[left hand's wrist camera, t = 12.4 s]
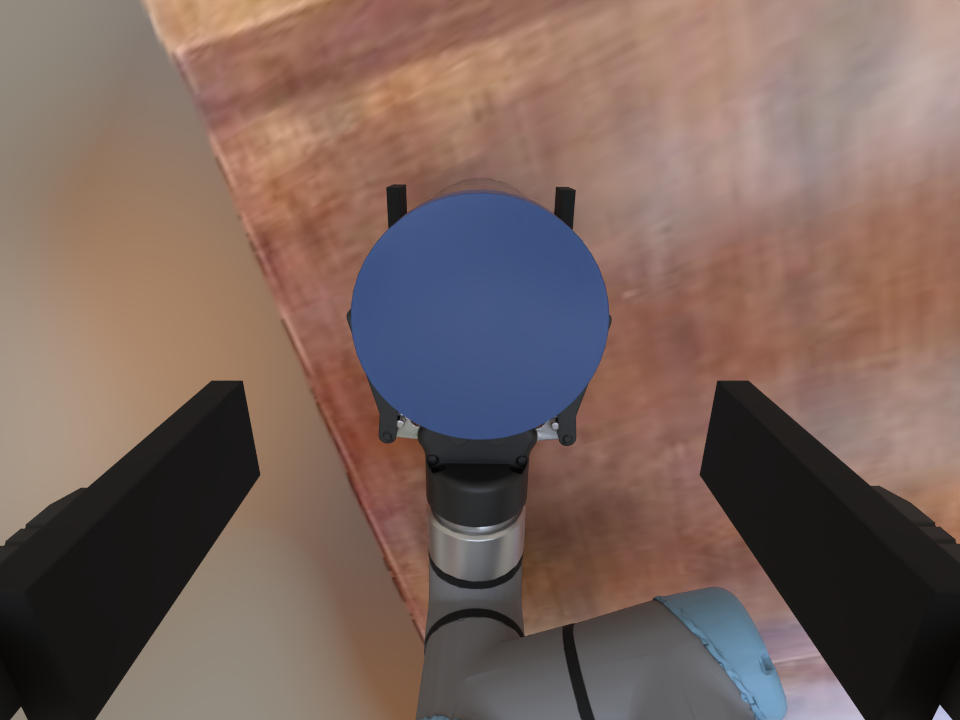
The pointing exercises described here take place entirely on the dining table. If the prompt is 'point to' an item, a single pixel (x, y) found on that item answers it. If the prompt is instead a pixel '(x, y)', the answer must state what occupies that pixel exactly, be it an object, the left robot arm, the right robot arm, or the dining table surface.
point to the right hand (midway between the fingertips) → (480, 187)
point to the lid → (479, 315)
